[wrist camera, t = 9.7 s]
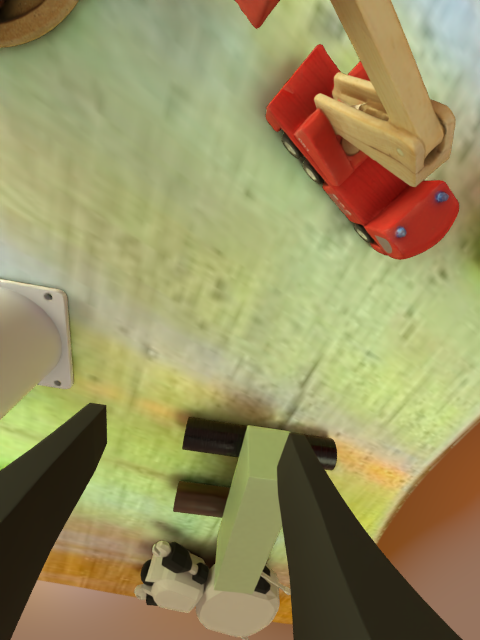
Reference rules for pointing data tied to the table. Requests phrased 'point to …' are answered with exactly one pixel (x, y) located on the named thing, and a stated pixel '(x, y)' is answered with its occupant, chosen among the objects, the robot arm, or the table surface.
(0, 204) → the table surface
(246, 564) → the bar
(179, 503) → the walnut rod
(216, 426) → the black rod
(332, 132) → the toy fire truck
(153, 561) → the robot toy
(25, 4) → the toy sandwich meal
